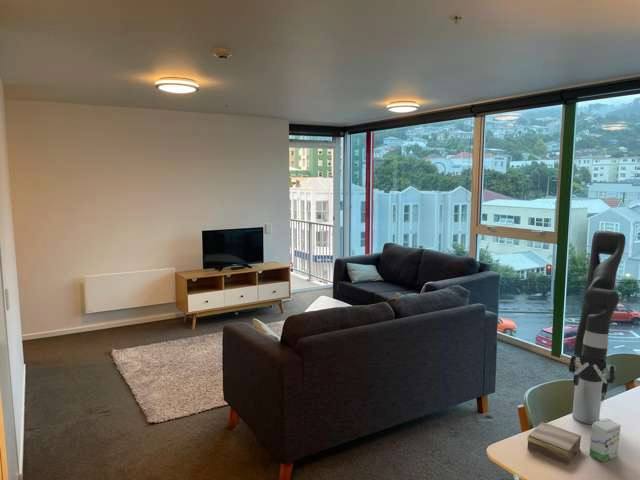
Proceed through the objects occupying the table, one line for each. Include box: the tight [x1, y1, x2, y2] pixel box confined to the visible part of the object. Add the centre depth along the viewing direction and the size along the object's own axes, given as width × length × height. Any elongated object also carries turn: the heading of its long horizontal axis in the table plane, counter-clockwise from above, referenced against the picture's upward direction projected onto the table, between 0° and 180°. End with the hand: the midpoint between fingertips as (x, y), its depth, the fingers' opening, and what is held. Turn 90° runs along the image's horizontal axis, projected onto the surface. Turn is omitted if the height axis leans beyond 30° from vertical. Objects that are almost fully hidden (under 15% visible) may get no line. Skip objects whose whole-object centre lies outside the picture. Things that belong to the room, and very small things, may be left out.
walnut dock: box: [526, 421, 582, 466], centre depth 164 cm, size 14×13×5 cm
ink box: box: [589, 417, 622, 463], centre depth 160 cm, size 8×5×12 cm, turn 116°
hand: (589, 388), depth 167 cm, fingers open, 8 cm apart
